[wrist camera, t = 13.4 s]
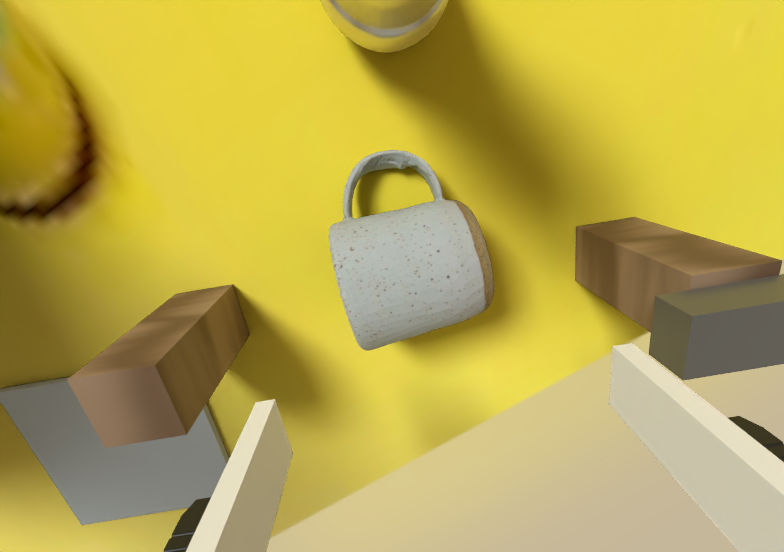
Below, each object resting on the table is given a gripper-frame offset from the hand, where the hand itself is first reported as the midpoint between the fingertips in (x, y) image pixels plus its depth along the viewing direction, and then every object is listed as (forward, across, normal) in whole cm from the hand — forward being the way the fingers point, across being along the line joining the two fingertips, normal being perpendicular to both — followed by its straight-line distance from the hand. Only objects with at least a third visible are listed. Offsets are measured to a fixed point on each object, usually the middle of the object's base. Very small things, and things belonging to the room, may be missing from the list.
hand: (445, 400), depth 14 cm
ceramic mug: (+13, -1, +4) cm, 13 cm away
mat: (+12, -24, -10) cm, 29 cm away
